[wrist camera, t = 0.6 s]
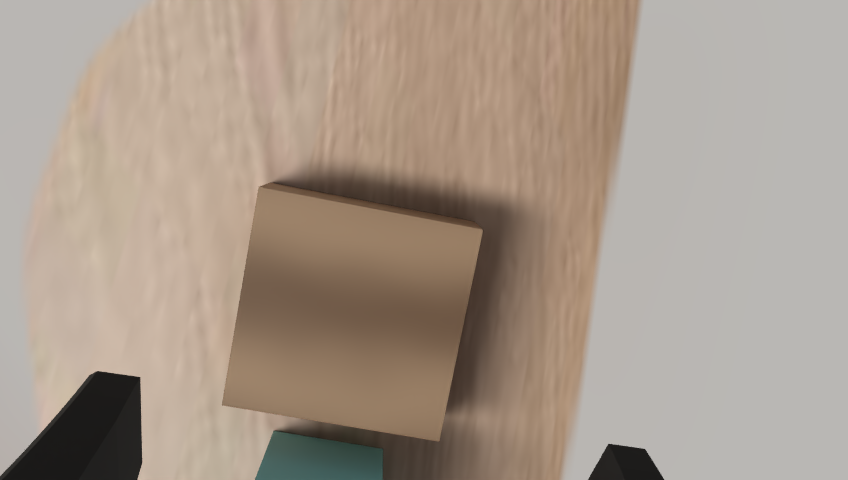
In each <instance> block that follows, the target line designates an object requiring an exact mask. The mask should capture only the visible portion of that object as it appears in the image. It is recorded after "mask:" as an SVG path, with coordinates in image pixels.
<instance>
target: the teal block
mask: <svg viewBox="0 0 848 480" xmlns="http://www.w3.org/2000/svg"><path fill="white" fill-rule="evenodd" d="M255 480H383V449H381V448H375V447H369V446H363V445H357V444H351V443H344V442H338V441H332V440H326V439H320V438H314V437H308V436H302V435H296V434H290V433H284V432H278V431H274V432H273V434H272V437H271V440H270V442H269V445H268V447H267V450H266V452H265V455H264V458H263V460H262V463H261V465H260V468H259V471H258V473H257V476H256V478H255Z"/></svg>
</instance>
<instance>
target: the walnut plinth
mask: <svg viewBox="0 0 848 480" xmlns="http://www.w3.org/2000/svg"><path fill="white" fill-rule="evenodd" d="M482 233H483V229H482V228H481V227H480V226H479V225H477V224H476V223H475V222H474V221H469V220H463V219H458V218H453V217H448V216H442V215H437V214H432V213H427V212H421V211H416V210H411V209H406V208H401V207H395V206H390V205H385V204H380V203H374V202H369V201H364V200H359V199H354V198H348V197H343V196H338V195H333V194H327V193H322V192H317V191H312V190H307V189H301V188H296V187H291V186H286V185H280V184H275V183H268V184H265V185H263V186H260V187H259V189H258V195H257V200H256V206H255V212H254V218H253V224H252V230H251V236H250V242H249V248H248V254H247V260H246V266H245V271H244V277H243V283H242V289H241V295H240V301H239V307H238V313H237V319H236V325H235V331H234V336H233V342H232V348H231V354H230V360H229V366H228V372H227V378H226V384H225V390H224V396H223V402H222V405H224V406H230V407H236V408H242V409H248V410H254V411H260V412H266V413H272V414H278V415H283V416H289V417H295V418H301V419H307V420H313V421H319V422H325V423H331V424H337V425H343V426H349V427H355V428H361V429H367V430H373V431H379V432H385V433H391V434H397V435H403V436H409V437H415V438H421V439H427V440H433V441H439V440H440V436H441V431H442V426H443V421H444V416H445V411H446V407H447V402H448V397H449V392H450V387H451V382H452V378H453V373H454V368H455V363H456V358H457V354H458V349H459V344H460V339H461V334H462V329H463V325H464V320H465V315H466V310H467V305H468V301H469V296H470V291H471V286H472V281H473V276H474V272H475V267H476V262H477V257H478V252H479V248H480V243H481V238H482Z"/></svg>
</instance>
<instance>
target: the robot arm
mask: <svg viewBox="0 0 848 480" xmlns="http://www.w3.org/2000/svg"><path fill="white" fill-rule="evenodd" d="M141 465H142V436H141V391H140V377H135V376H128V375H121V374H114V373H107V372H100V371H97V372H95V373H93V374H91V375H89V377H88V378H87V379H86V380H85V382H84V383H83V384H82V385H81V387H80V388H79V389H78V390H77V392H76V393H75V394H74V395H73V396H72V398H71V399H70V400H69V401H68V402H67V404H66V405H65V406H64V407H63V408H62V409H61V411H60V412H59V413H58V414H57V415H56V416H55V418H54V419H53V420H52V421H51V422H50V423H49V424H48V426H47V427H46V428H45V429H44V430H43V431H42V432H41V433H40V434H39V436H38V437H37V438H36V439H35V440H34V441H33V442H32V443H31V444H30V446H29V447H28V448H27V449H26V450H25V451H24V452H23V453H22V454H21V455H20V456H19V458H17V459H16V461H15V462H14V463H13V464H12V465H11V466H10V467H9V468H8V469H7V470H6V471H5V472H4V473H3V474H2V475H1V476H0V480H137V479H138V475H139V472H140V468H141ZM588 480H664V479H663V477H662V475H661V474H660V472H659V471H658V469H657V467H656V466H655V464H654V463H653V461H652V459H651V458H650V456H649V455H648V453H647V451H646V450H645V449H641V448H634V447H627V446H620V445H613V444H608V446H607V447H606V449H605V451H604V453H603V454H602V456H601V458H600V460H599V462H598V463H597V465H596V467H595V468H594V470H593V472H592V474H591V475H590V477H589V479H588Z"/></svg>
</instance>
